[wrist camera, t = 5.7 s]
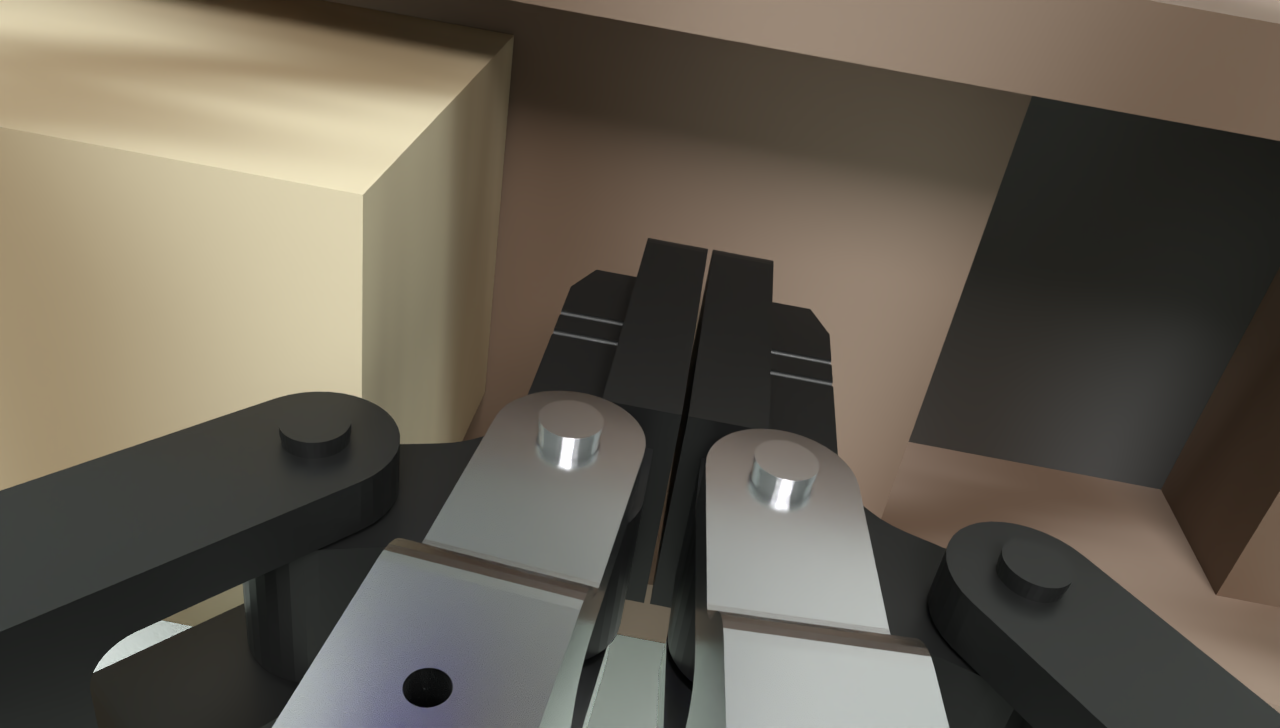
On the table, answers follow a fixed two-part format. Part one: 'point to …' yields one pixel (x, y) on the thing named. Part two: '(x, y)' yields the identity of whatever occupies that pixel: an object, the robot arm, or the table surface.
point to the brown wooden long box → (949, 252)
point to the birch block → (240, 219)
